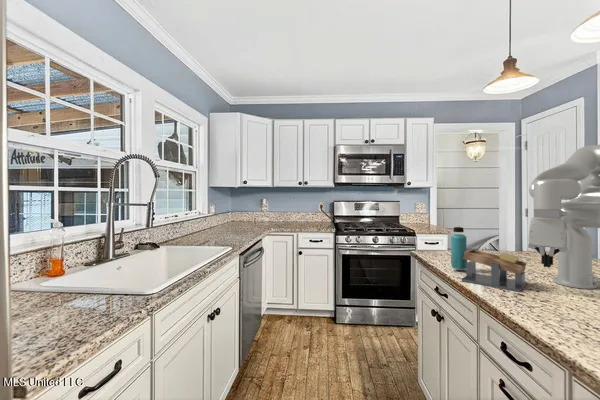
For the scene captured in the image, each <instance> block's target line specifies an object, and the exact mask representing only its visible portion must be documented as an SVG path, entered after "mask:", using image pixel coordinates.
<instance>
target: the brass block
mask: <svg viewBox="0 0 600 400" xmlns="http://www.w3.org/2000/svg"><path fill="white" fill-rule="evenodd" d="M499 256H500V259H499V260H501V261H505V262H508V263H512V264H516V265H517V264H518V261H520V260H519V259H520V256H519V255H515V254H510V253H506V252H502V253H501V254H500V255H499Z"/></svg>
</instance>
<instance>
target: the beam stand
mask: <svg viewBox="0 0 600 400" xmlns="http://www.w3.org/2000/svg"><path fill="white" fill-rule="evenodd" d="M476 266H477V262H473V261H470V260H468V261H467V263H466V269H465V271H466V272H465V273H466V275H465V276H464V277H462V278H461V282H463V283H469V284H474V285H480V286H484V287H489V288H496V289H500V290H504V291H511V292H517V293H520V292H522V290H523V289H524V288H525V287H527V285H528V282H527V281H526V273H525V271H523V272H522V273H521V274H516V273H514V274H515V275H514V279H513V278H508V271H506V270H502V269H500V264H497V263H491V266H490V268H491V269H490V270H491V271H490V273H491V274H490V275H487V274H482V273H477V271H476V270H477V267H476Z"/></svg>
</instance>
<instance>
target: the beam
mask: <svg viewBox="0 0 600 400" xmlns="http://www.w3.org/2000/svg"><path fill="white" fill-rule="evenodd" d="M463 259H466V260H467V261H473V262H476V264H480V265H485V266H487V267H488V266H489V267H491V263H497V264H500V269H502V270H506V271H507V272H510V273H513V274H515V273H516V274H521V273H522V272H525V271H526V266H527V262H525V261H521V260H518V264H517V265H516V264H512V263H508V262H505V261H501V260H499V259H500V255H497V254H494V253H489V252H486V251H481V250H478V249H474V248H471V249H468V250H467V251H465V252H464V258H463Z"/></svg>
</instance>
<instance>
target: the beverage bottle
mask: <svg viewBox="0 0 600 400" xmlns="http://www.w3.org/2000/svg"><path fill="white" fill-rule="evenodd" d="M453 232H454V233H456V234H452V235H451V236H450V238H451V240H450V241H451V242H450V243H451V244H450V245H451V249H450V251H451V252H450V255H451V256H450V262H451V268H452V269H456V270H466V263H467V262H468V260H466V259H463V258H464V252H465V251H467V245H468V244H467V238H468V237H467V236H466V235H465V234H460V233H464V232H465V231H464V227H462V226H454V227H453ZM458 233H459V234H458Z"/></svg>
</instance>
